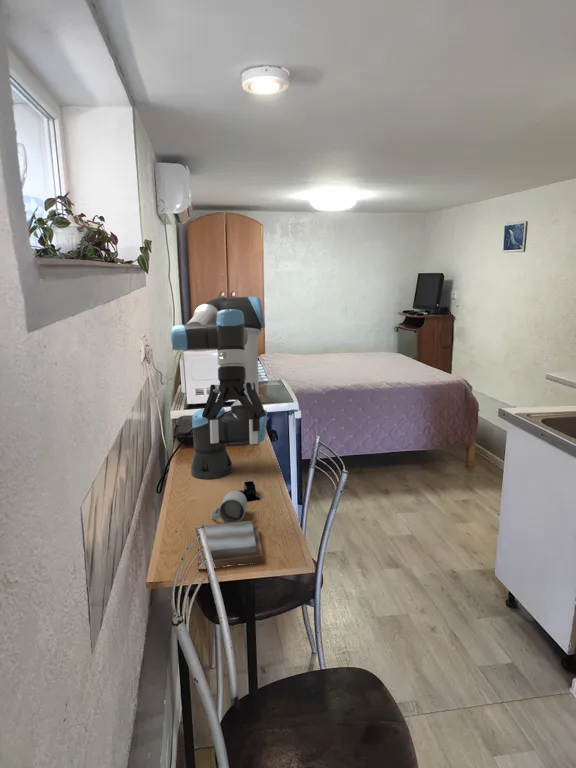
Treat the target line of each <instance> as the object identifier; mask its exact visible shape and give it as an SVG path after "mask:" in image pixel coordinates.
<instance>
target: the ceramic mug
mask: <svg viewBox="0 0 576 768" xmlns="http://www.w3.org/2000/svg"><path fill="white" fill-rule="evenodd" d="M247 506H248V502H247V499H246V497H245V495H244V494H243V493H242V492H240V490H232V491H229V492H228V493H226V494H225V495H224V497H223V500H222V501H221V503H220V505H219V506H218V507H216V508H215V509H214V510H213V511H212V512H211V514H210V517H211V519H212V520H213V521H216V520H220V519H221V520H222V521H223V522H225V523H234V522H242V520H243V519H244V517H245V515H246V512H247V508H248V507H247Z"/></svg>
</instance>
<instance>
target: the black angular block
mask: <svg viewBox="0 0 576 768" xmlns="http://www.w3.org/2000/svg"><path fill="white" fill-rule="evenodd" d="M239 491H240V492H242V493H243V494H244V495H245V497H246V499H247V503H250V502H257V501H260V500H259V499H262V498H261V496H260V494H259V493H258V491H257V490H256V484H255V482H254V481H253V480H249V481H243V489H240V490H239ZM258 494H259V495H258ZM259 496H260V497H259ZM256 500H257V501H256Z"/></svg>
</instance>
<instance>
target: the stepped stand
mask: <svg viewBox="0 0 576 768" xmlns="http://www.w3.org/2000/svg"><path fill="white" fill-rule="evenodd" d="M204 528H205V531H206V535H207V540H208V545H209V548H210V551H211V555H212V558H213V562H214V564H215V567H216V568H215V569H218V568H217V567H223V566H227V565H238V564H249V565H253V564H252V563H258V564H263V563H264V553H263V549H262V544H261V543H262V542H261V539H260V532H259V527H258V523H255V524H254V523H253V520H247V521H246V520H245V521H240V522H234V523H226V522H225V523H217V524H216V523H215V524H206V525H203V529H204ZM198 548H199V547H198V546H197V549H198ZM201 563H202V559H201V555H200V556H199V557H198V556H197V568H198V567H199V565H200V564H201ZM250 563H251V564H250ZM223 568H224V567H223Z"/></svg>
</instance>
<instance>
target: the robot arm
mask: <svg viewBox="0 0 576 768" xmlns="http://www.w3.org/2000/svg"><path fill="white" fill-rule="evenodd" d="M264 317H265V316H264V313H263V303H262V299H261V298H260V297H258V296H233V297H231V296H230V297H216V298H212V299H210V300H207V301H205V302H203V303H201V304H200V305H199V306H197V307H196V308H195V310H194V312H193V316H192V318H191V319H190V320H188V322H187V323H186V324H179V325H173V326H172V327H171V332H170V334H171V335H170V339H171V340H170V341H171V345H172V348H173V349H174V350H176V351H184V352H186V351H201V350H205V351H206V350H208V351H209V350H210V351H211V350H217V365H218V366H220V367H218V368H217V377H218V378H217V379H218V382H219V384H210V387H209V394H208V396H207V400H206V403H205V404H204V405H205V406H204V408H202V409H200V410H197V411H195V412H194V413H193V415H192V417H191V418H192V419H191V427H192V439H193V440H192V441H193V448H194V449H193V451H194V452H193V456H192V461H191V463H190V474H191V475H192V476H193V477H194V478H197V479H203V480H205V479H206V480H207V479H208V480H209V479H210V480H211V479H213V480H214V479H218V478H219V479H220V478H223V477H225V476H228V475H229V474H231V473H232V472H233V469H234V467H233V462H232V459H231V457H230V455H229V451H228V448H227V445H232V444H237V445H238V444H249V445H257V444H260V443H262V442H263V441H264V440H265V438H266V431H267V422H268V421H267V420H268V418H267V417H268V411H267V410H266V409H265V408H264V405H263V404H262V402H261V400H260V398H259V397H260V396H259V394H260V393H259V357H258V354H259V353H258V352H259V351H258V350H259V349H258V337H259V336H260V335H261V334H262V329H264V328H265V327H266V326H265V318H264ZM228 401H234V402H233V403H232V404H231V405H230V411H229V410H227V411H226V409H225V408H224V406H225V404H226V403H227V402H228Z"/></svg>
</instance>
